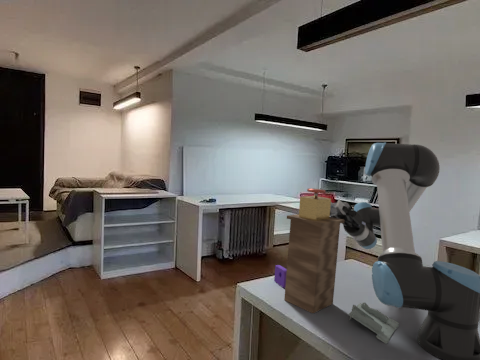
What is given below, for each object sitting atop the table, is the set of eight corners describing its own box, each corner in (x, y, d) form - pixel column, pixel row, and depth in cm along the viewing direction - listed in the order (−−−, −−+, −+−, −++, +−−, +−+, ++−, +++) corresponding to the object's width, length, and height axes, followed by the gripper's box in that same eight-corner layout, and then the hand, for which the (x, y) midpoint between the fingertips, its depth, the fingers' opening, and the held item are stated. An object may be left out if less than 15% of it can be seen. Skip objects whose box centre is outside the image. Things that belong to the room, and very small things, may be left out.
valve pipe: (335, 212, 127) (338, 187, 126) (352, 215, 122) (354, 189, 121) (298, 217, 111) (300, 188, 110) (315, 220, 106) (318, 191, 105)
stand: (304, 290, 124) (310, 212, 122) (336, 304, 114) (344, 219, 111) (280, 299, 114) (286, 215, 112) (313, 315, 104) (321, 223, 102)
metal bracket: (345, 309, 98) (361, 295, 109) (338, 325, 99) (355, 309, 111) (393, 341, 89) (405, 321, 101) (385, 357, 91) (397, 336, 103)
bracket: (283, 288, 125) (284, 271, 125) (274, 281, 131) (275, 265, 131) (308, 285, 130) (310, 268, 130) (298, 279, 136) (300, 263, 136)
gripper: (373, 241, 125) (350, 215, 110) (333, 231, 138) (307, 207, 123) (379, 224, 127) (357, 196, 112) (339, 216, 140) (314, 190, 125)
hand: (331, 202), depth 118 cm, fingers closed on valve pipe, 4 cm apart
